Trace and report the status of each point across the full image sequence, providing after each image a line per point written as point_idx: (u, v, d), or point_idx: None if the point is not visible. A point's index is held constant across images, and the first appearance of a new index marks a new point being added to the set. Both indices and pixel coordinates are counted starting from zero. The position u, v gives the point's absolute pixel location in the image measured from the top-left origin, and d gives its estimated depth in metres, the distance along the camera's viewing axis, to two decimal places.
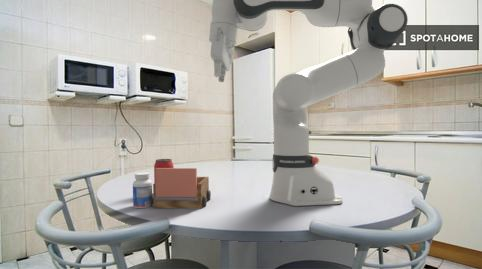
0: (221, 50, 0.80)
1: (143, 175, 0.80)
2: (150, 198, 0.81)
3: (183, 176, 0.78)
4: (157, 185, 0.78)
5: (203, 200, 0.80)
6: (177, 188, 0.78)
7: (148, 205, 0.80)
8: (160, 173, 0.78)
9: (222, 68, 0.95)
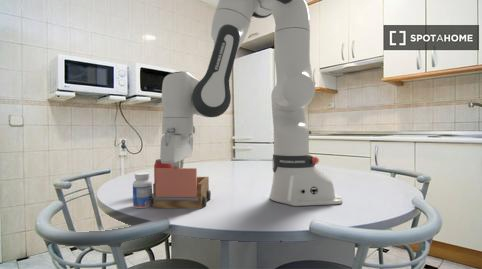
0: (172, 156, 0.71)
1: (143, 175, 0.80)
2: (150, 198, 0.81)
3: (183, 176, 0.78)
4: (157, 185, 0.78)
5: (203, 200, 0.80)
6: (177, 188, 0.78)
7: (148, 205, 0.80)
8: (160, 173, 0.78)
9: None
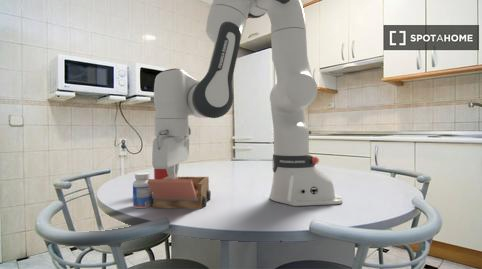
0: (165, 160, 0.65)
1: (143, 175, 0.80)
2: (150, 198, 0.81)
3: (179, 187, 0.73)
4: (154, 192, 0.76)
5: (203, 200, 0.80)
6: (175, 194, 0.76)
7: (148, 205, 0.80)
8: (154, 185, 0.73)
9: None
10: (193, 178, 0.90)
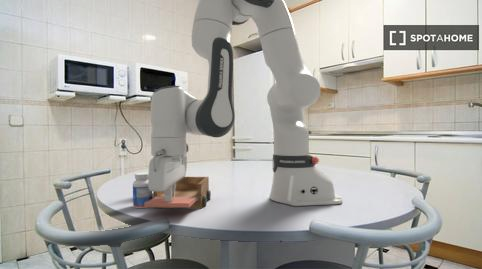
0: (161, 183, 0.62)
1: (143, 175, 0.80)
2: (150, 198, 0.81)
3: None
4: None
5: (203, 200, 0.80)
6: None
7: None
8: None
9: None
10: (193, 178, 0.90)
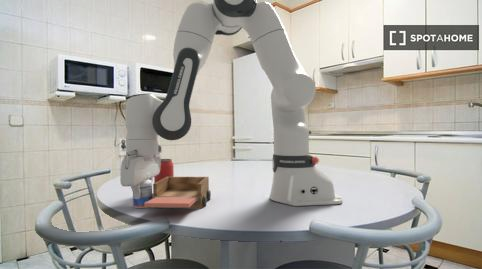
0: (131, 179, 0.72)
1: None
2: (150, 198, 0.81)
3: None
4: None
5: (203, 200, 0.80)
6: None
7: None
8: None
9: None
10: (193, 178, 0.90)
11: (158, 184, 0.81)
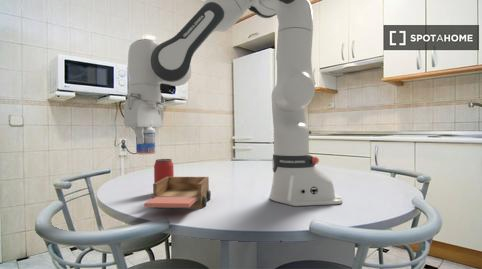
0: (135, 119, 0.72)
1: None
2: (153, 145, 0.81)
3: None
4: None
5: (203, 200, 0.80)
6: None
7: (151, 152, 0.80)
8: None
9: None
10: (193, 178, 0.90)
11: (158, 184, 0.81)
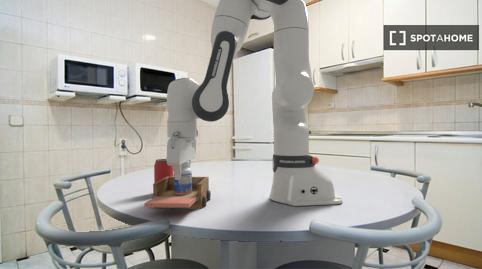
0: (177, 158, 0.75)
1: (184, 163, 0.83)
2: (190, 185, 0.84)
3: None
4: None
5: (203, 200, 0.80)
6: None
7: (189, 192, 0.84)
8: None
9: None
10: (193, 178, 0.90)
11: (158, 184, 0.81)
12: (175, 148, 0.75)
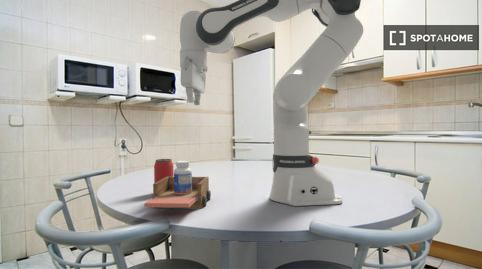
0: (190, 78, 0.82)
1: (184, 163, 0.83)
2: (190, 185, 0.84)
3: None
4: None
5: (203, 200, 0.80)
6: None
7: (189, 192, 0.84)
8: None
9: (197, 92, 0.97)
10: (193, 178, 0.90)
11: (158, 184, 0.81)
12: (188, 69, 0.83)
